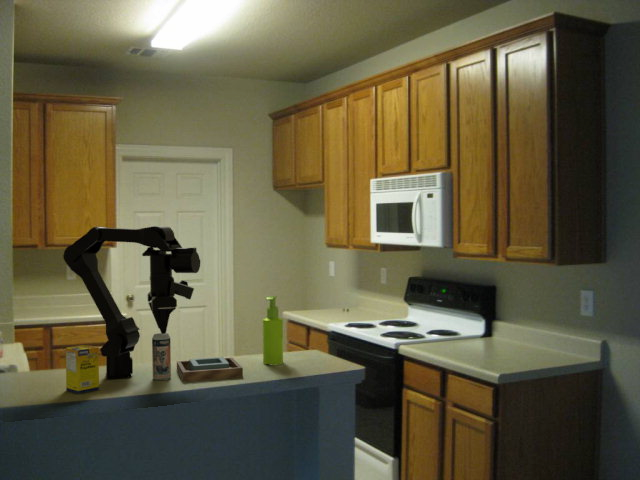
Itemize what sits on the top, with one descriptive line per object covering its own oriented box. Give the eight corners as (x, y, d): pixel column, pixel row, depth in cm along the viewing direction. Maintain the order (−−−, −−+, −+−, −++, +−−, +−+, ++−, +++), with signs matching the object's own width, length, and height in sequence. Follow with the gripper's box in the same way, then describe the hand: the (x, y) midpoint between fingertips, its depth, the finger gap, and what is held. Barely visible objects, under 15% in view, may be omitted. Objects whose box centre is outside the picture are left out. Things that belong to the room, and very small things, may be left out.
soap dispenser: (260, 365, 200) (259, 297, 200) (266, 360, 207) (265, 294, 206) (279, 366, 199) (278, 297, 198) (285, 361, 206) (284, 295, 205)
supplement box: (99, 389, 173) (99, 346, 172) (77, 394, 168) (77, 350, 168) (87, 386, 177) (86, 344, 176) (65, 390, 172) (64, 347, 172)
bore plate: (193, 377, 184) (193, 366, 184) (189, 369, 193) (189, 359, 193) (229, 374, 187) (229, 363, 187) (223, 367, 196) (223, 356, 196)
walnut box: (183, 381, 181) (182, 372, 180) (176, 370, 195) (176, 361, 195) (242, 377, 185) (242, 367, 185) (232, 365, 200) (232, 357, 200)
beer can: (152, 381, 181) (152, 336, 181) (152, 377, 186) (151, 333, 186) (171, 380, 183) (170, 335, 182) (170, 376, 187) (169, 332, 187)
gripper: (196, 274, 177) (197, 334, 177) (187, 269, 195) (188, 324, 195) (151, 275, 174) (152, 337, 174) (146, 270, 191) (147, 326, 192)
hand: (162, 330), depth 184 cm, fingers open, 9 cm apart
